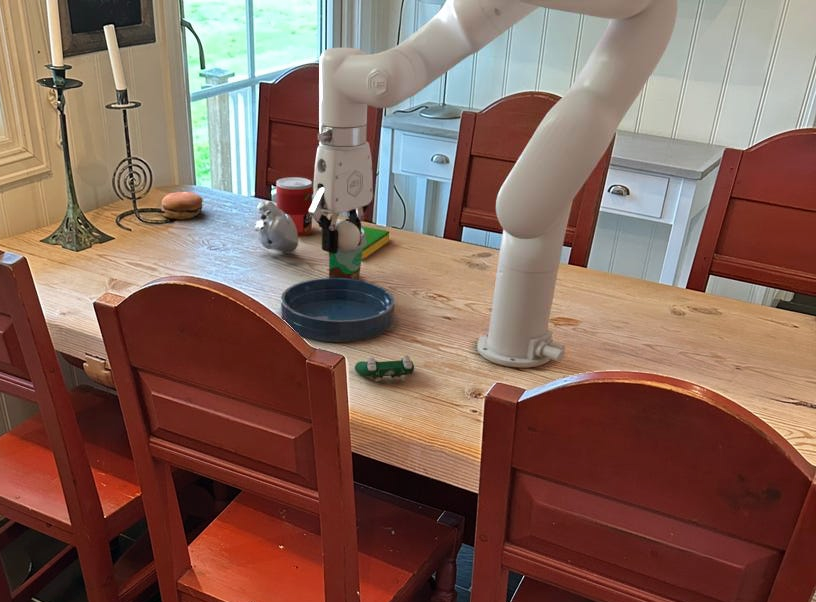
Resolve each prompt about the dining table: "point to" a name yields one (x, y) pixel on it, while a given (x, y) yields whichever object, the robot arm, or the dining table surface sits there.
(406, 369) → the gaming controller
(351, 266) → the food container
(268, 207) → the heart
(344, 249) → the egg
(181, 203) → the burger
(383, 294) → the basin
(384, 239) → the dish sponge
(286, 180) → the canned food
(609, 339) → the dining table surface
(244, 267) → the dining table surface
